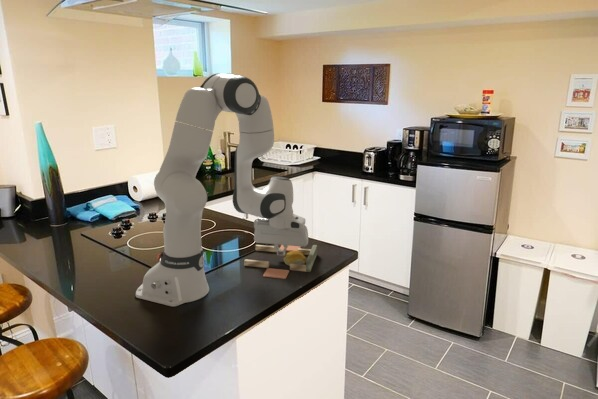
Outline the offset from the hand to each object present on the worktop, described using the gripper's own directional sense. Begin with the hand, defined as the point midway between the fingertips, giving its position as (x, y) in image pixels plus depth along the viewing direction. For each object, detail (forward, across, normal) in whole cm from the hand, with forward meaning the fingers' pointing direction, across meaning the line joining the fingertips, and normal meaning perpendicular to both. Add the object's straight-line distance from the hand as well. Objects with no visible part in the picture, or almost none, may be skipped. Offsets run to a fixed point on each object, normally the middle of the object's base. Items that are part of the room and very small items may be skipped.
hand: (281, 254), depth 156 cm
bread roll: (+3, +6, 0) cm, 6 cm away
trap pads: (+2, 0, 0) cm, 2 cm away
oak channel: (+2, 0, 0) cm, 2 cm away
